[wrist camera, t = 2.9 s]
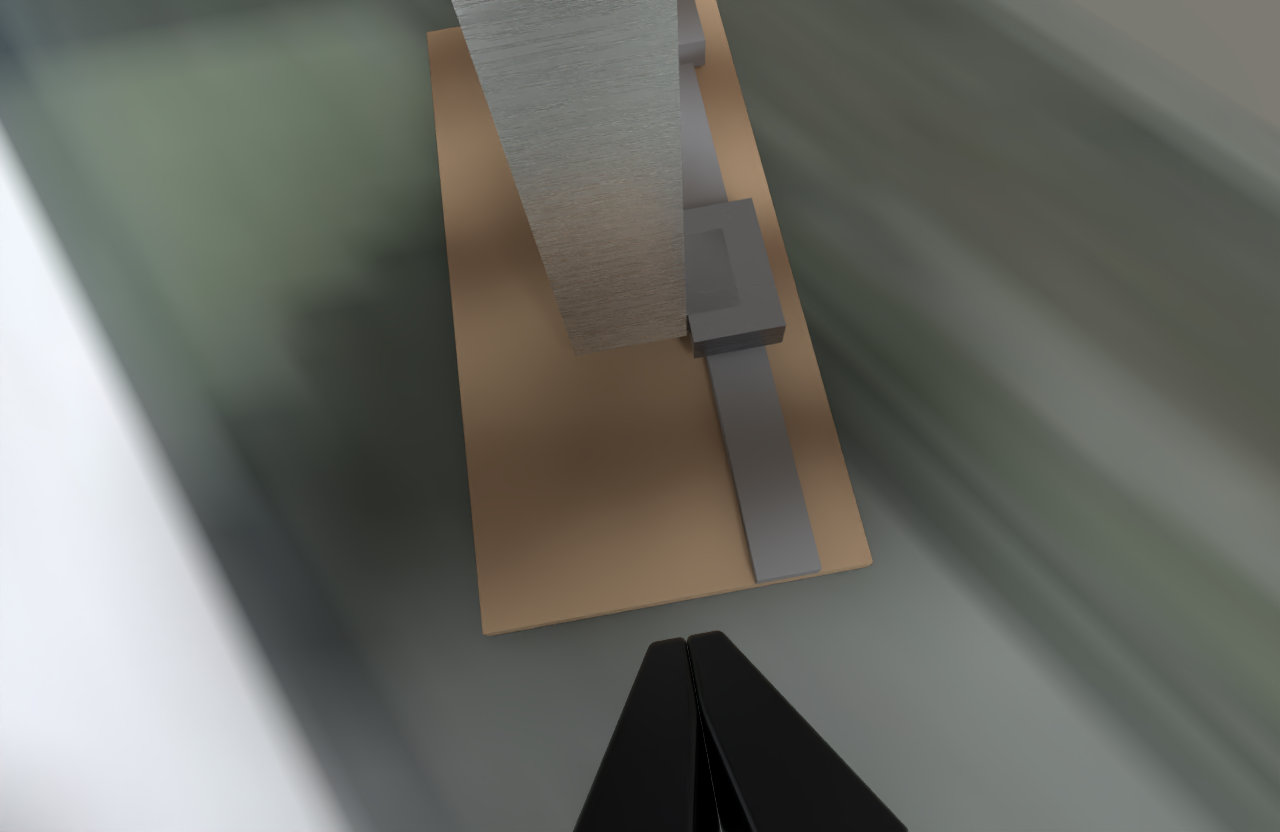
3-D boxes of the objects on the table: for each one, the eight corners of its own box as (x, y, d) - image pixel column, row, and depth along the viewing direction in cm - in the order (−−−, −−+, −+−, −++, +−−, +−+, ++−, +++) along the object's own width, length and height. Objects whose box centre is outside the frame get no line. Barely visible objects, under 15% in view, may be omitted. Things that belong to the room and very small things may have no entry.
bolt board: (868, 566, 20) (1371, 153, 5) (488, 636, 20) (-121, 431, 5) (709, -6, 27) (724, -864, 12) (432, 46, 27) (113, -746, 12)
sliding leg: (780, 351, 21) (1062, -867, 5) (579, 388, 21) (178, -697, 5) (748, 230, 23) (883, -1027, 6) (560, 264, 23) (201, -896, 6)
